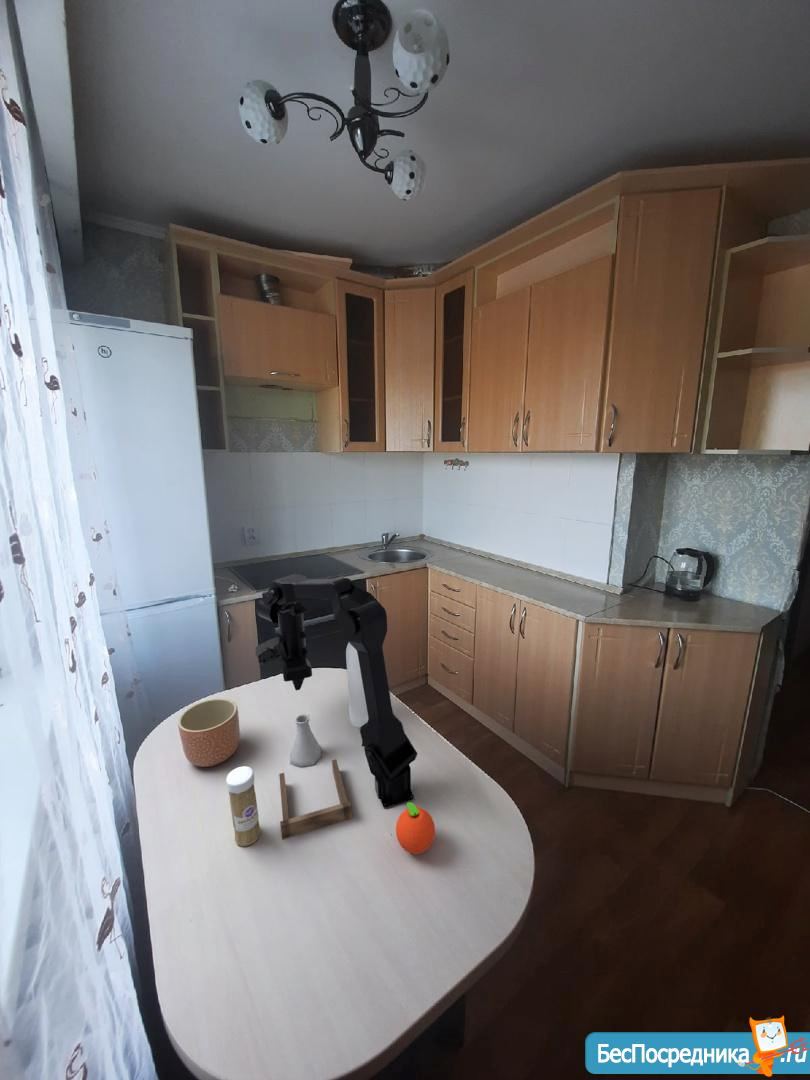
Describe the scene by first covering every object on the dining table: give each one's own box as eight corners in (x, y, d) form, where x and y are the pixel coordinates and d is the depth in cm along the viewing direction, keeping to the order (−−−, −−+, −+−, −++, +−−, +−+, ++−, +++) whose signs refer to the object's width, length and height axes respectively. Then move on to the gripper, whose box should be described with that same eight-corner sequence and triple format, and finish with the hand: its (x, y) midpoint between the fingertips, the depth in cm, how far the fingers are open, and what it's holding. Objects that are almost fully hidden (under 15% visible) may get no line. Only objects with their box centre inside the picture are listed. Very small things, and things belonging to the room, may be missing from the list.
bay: (339, 770, 95) (338, 758, 94) (352, 818, 83) (351, 805, 82) (278, 786, 91) (276, 774, 90) (282, 839, 79) (280, 826, 78)
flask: (325, 746, 102) (322, 709, 100) (316, 768, 95) (313, 729, 93) (296, 744, 103) (292, 707, 101) (284, 767, 96) (280, 728, 94)
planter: (243, 765, 97) (237, 722, 94) (182, 782, 93) (174, 738, 90) (242, 731, 108) (237, 692, 106) (187, 745, 104) (180, 705, 101)
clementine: (389, 831, 80) (387, 799, 78) (423, 818, 82) (423, 787, 81) (404, 870, 73) (403, 836, 71) (441, 855, 75) (441, 822, 73)
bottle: (348, 730, 108) (341, 618, 100) (351, 710, 115) (344, 605, 108) (380, 728, 108) (375, 617, 101) (381, 709, 115) (376, 604, 108)
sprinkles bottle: (246, 851, 77) (237, 788, 73) (229, 840, 79) (220, 778, 76) (266, 831, 80) (258, 770, 77) (249, 821, 83) (241, 761, 79)
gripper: (255, 617, 108) (262, 673, 112) (255, 651, 91) (263, 716, 94) (300, 611, 111) (305, 665, 115) (309, 642, 94) (315, 705, 98)
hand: (297, 686), depth 105 cm, fingers open, 3 cm apart
